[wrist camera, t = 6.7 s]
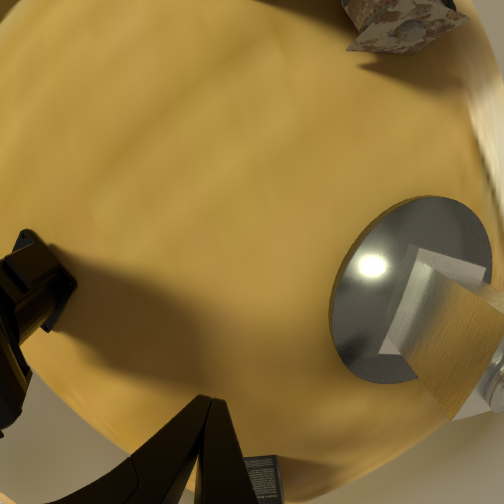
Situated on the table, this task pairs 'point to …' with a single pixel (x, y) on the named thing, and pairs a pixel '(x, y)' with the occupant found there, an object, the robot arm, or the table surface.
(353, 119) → the table surface
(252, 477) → the small box
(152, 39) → the table surface
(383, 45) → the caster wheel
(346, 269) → the turntable
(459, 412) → the cover
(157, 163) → the table surface
